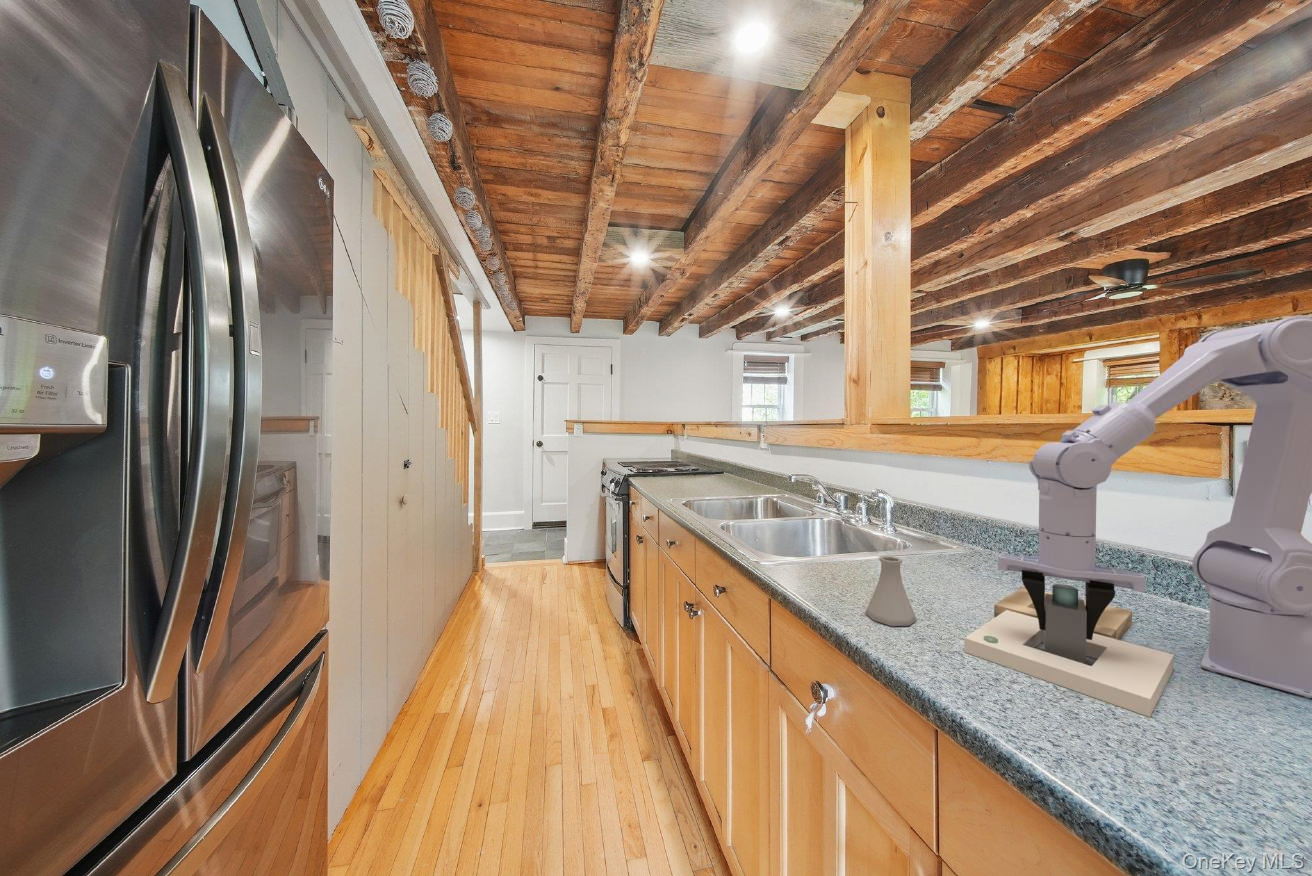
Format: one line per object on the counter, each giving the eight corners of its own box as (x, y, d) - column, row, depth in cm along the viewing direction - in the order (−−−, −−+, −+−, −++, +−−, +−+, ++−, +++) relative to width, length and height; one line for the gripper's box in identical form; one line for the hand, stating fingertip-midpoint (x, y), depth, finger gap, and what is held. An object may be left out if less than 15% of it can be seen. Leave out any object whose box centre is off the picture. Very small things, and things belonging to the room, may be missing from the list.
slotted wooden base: (1132, 623, 73) (1132, 610, 73) (1111, 649, 65) (1111, 635, 65) (1023, 597, 85) (1023, 586, 85) (994, 616, 76) (994, 604, 76)
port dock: (1173, 669, 60) (1173, 652, 60) (1149, 717, 50) (1150, 696, 50) (1006, 622, 74) (1006, 608, 74) (964, 651, 65) (964, 635, 65)
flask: (856, 613, 79) (856, 555, 78) (889, 606, 81) (889, 550, 81) (892, 631, 72) (892, 567, 72) (926, 623, 74) (926, 561, 74)
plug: (1082, 650, 63) (1083, 585, 63) (1085, 665, 59) (1087, 596, 59) (1044, 641, 66) (1045, 579, 65) (1045, 655, 62) (1046, 589, 62)
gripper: (1139, 533, 60) (1136, 636, 61) (1000, 520, 69) (999, 609, 70) (1149, 545, 55) (1147, 657, 55) (997, 528, 64) (996, 625, 64)
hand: (1064, 632), depth 62 cm, fingers closed on plug, 4 cm apart
